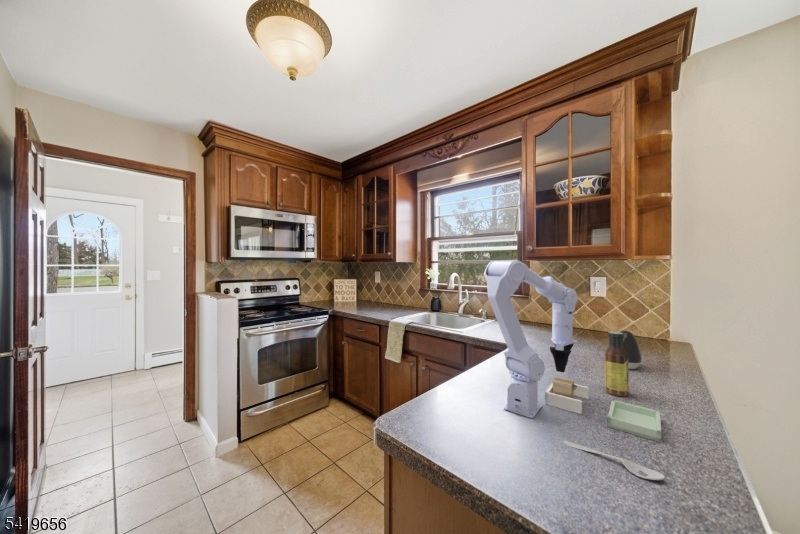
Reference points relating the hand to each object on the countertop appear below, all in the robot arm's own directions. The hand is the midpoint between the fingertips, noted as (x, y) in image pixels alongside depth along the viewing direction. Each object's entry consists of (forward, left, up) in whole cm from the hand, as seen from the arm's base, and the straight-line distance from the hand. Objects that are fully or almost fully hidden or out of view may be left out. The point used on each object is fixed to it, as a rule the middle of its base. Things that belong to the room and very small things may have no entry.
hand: (561, 368), depth 92 cm
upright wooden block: (-1, -1, -10) cm, 10 cm away
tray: (-4, -18, -9) cm, 21 cm away
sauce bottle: (+16, -13, -10) cm, 23 cm away
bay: (-1, -2, -9) cm, 10 cm away
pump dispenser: (+49, -14, -10) cm, 52 cm away
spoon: (-26, -13, -10) cm, 31 cm away
